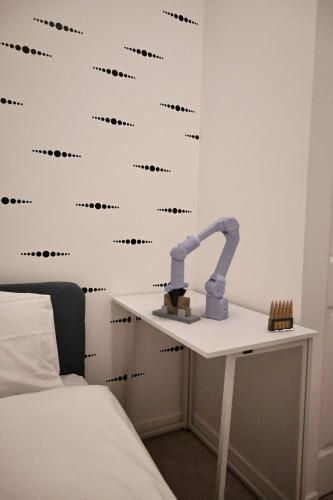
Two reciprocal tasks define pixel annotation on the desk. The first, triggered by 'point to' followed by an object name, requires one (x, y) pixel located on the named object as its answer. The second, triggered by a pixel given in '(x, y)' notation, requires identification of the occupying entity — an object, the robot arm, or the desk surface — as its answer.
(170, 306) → the door panel
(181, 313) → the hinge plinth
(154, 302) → the desk surface
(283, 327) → the ammunition clip
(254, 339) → the desk surface
